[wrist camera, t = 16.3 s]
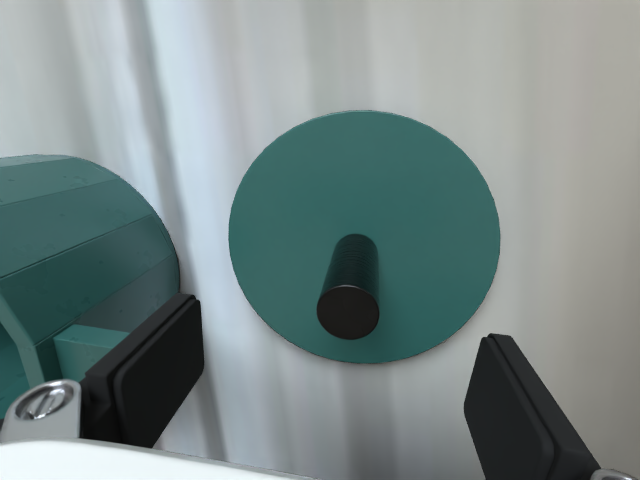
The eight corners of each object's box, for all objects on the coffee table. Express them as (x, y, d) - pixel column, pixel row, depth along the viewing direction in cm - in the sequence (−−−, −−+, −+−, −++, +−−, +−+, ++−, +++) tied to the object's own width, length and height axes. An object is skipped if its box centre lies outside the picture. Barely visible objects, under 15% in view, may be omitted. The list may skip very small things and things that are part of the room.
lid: (231, 102, 17) (144, 91, 11) (526, 120, 16) (638, 120, 9) (238, 334, 22) (182, 423, 16) (462, 368, 21) (503, 484, 14)
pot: (-69, 143, 21) (-389, 160, 12) (213, 168, 19) (69, 209, 10) (-8, 324, 26) (-207, 430, 17) (223, 361, 23) (132, 507, 15)
